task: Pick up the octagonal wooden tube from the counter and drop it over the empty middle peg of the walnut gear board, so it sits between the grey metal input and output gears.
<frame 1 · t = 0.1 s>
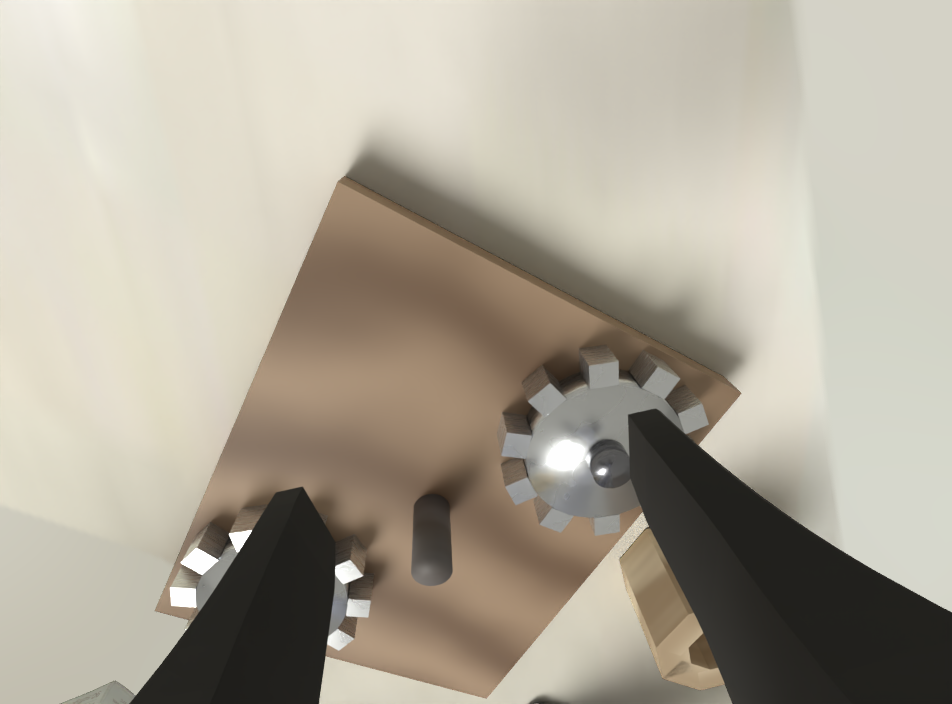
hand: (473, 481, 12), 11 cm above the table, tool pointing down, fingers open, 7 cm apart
gear board: (431, 486, 25), on the table
octagonal wooden tube: (673, 560, 28), on the table
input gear: (281, 575, 24), resting on gear board
output gear: (595, 434, 22), resting on gear board
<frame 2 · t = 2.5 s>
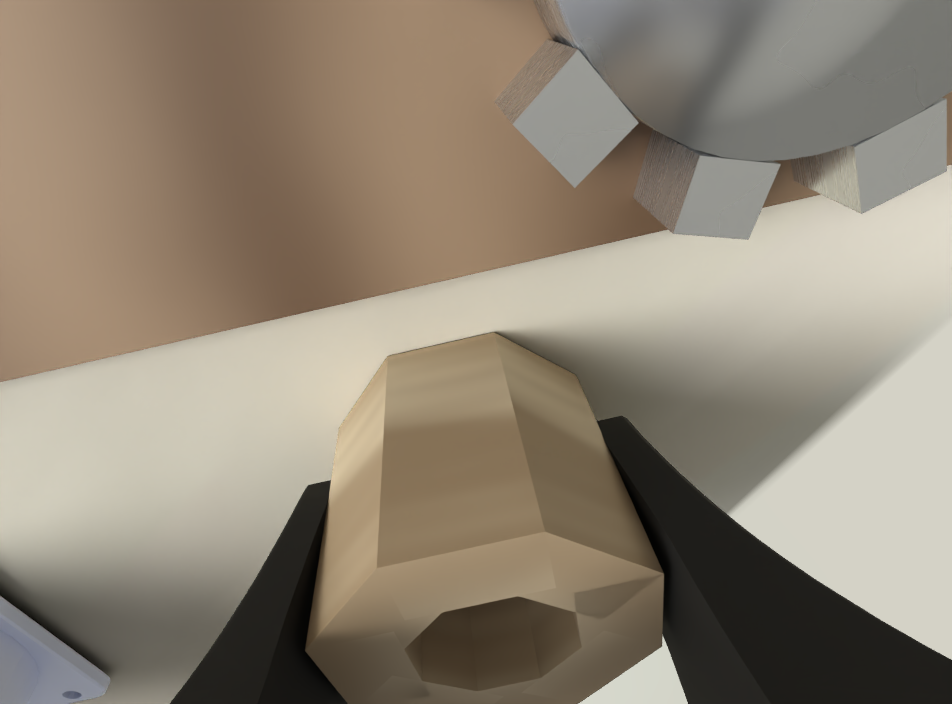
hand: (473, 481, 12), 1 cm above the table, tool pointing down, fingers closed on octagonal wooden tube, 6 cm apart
octagonal wooden tube: (467, 436, 13), on the table, touching gripper
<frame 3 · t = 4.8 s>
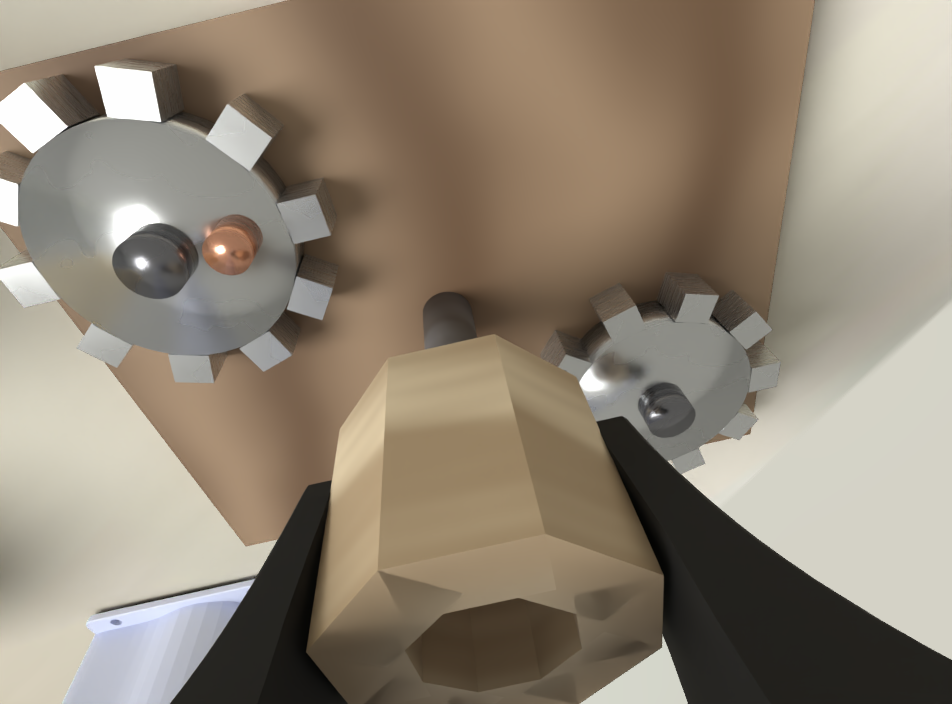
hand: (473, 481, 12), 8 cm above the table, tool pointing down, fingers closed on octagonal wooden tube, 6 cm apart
gear board: (444, 291, 18), on the table
octagonal wooden tube: (467, 438, 13), point 7 cm above the table, touching gripper
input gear: (185, 231, 15), resting on gear board
output gear: (644, 375, 20), resting on gear board
when the fingers open (4 cm above the table, at t = 7.1 s): octagonal wooden tube drops 1 cm, resting on gear board.
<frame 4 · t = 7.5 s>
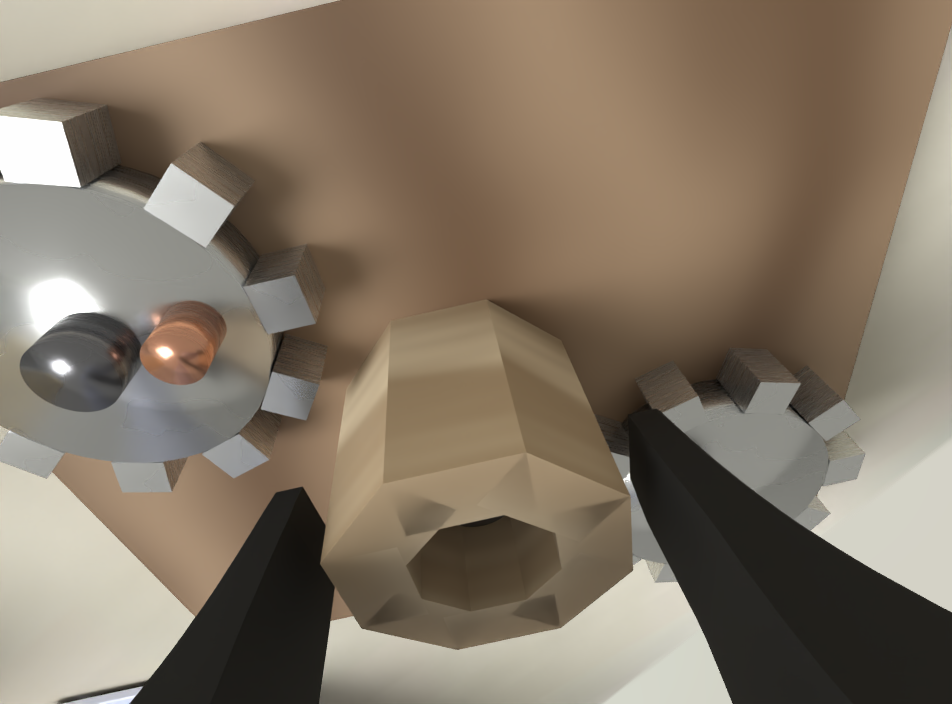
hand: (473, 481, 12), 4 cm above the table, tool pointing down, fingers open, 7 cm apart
gear board: (457, 364, 15), on the table
octagonal wooden tube: (462, 398, 14), point 1 cm above the table, touching gear board
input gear: (131, 309, 12), resting on gear board
output gear: (693, 459, 16), resting on gear board
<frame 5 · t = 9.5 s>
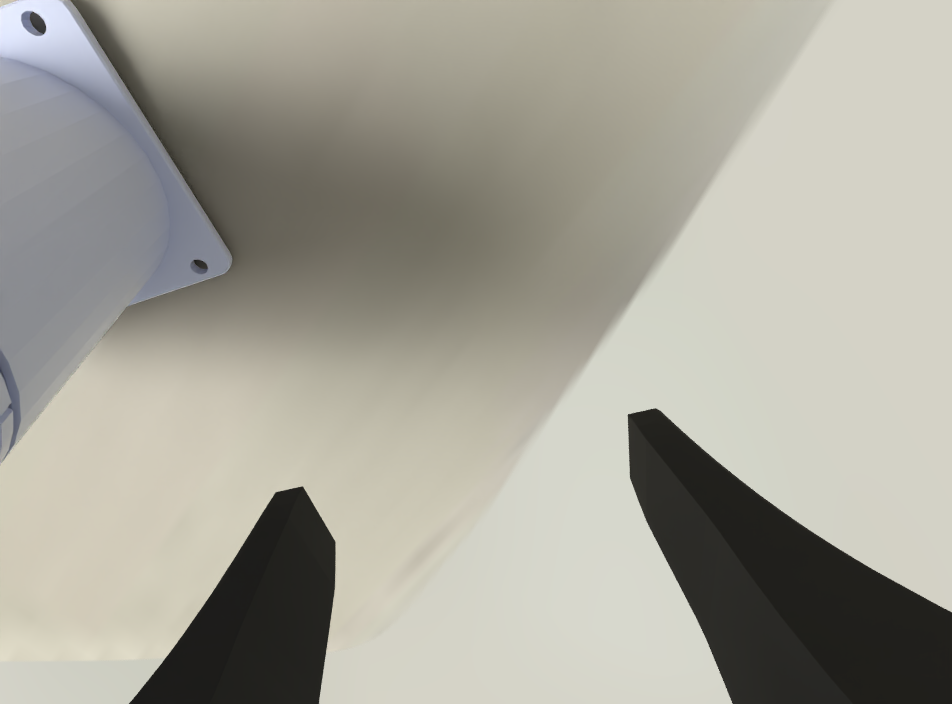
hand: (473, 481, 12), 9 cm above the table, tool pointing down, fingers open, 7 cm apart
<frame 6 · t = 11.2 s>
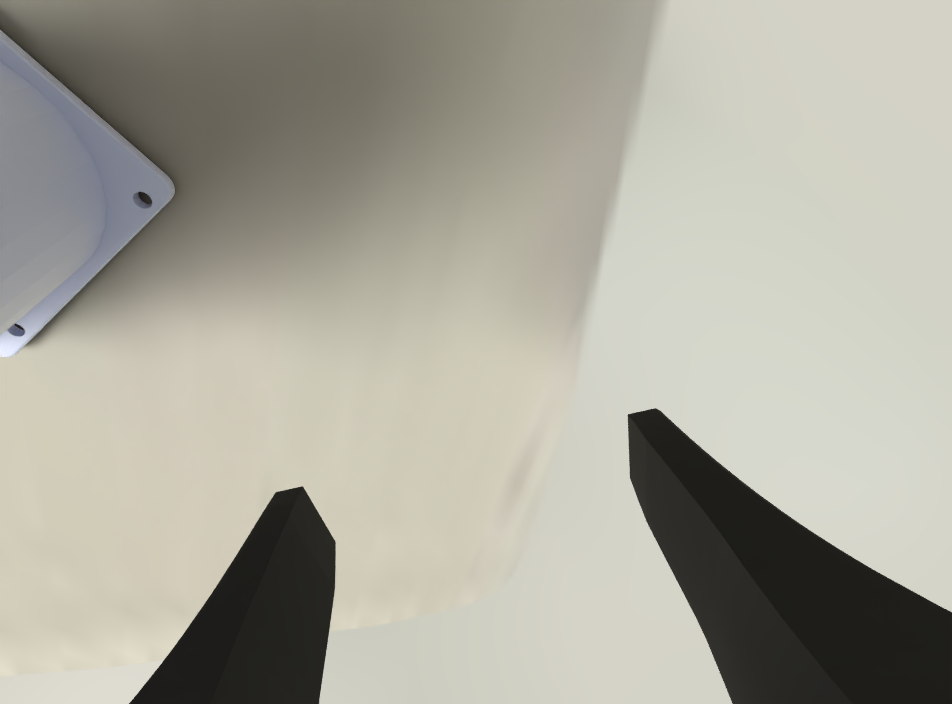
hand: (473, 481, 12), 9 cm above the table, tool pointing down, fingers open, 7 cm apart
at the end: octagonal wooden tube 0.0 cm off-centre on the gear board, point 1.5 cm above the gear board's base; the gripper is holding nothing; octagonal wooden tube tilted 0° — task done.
